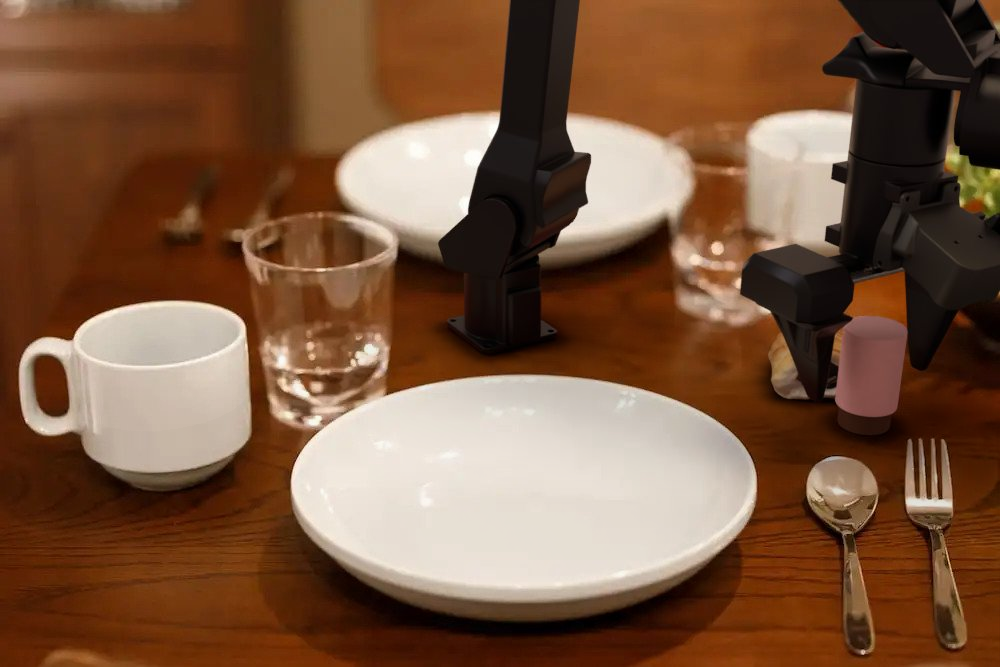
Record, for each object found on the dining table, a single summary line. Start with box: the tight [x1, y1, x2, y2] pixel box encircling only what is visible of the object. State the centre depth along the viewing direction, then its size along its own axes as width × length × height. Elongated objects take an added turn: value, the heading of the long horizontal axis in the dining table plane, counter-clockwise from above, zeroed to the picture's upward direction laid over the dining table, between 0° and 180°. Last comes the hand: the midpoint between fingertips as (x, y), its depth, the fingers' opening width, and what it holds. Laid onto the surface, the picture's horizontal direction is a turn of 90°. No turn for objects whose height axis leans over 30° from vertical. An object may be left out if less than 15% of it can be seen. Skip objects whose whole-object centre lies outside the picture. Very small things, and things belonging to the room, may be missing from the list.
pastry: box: [767, 330, 843, 401], centre depth 93 cm, size 9×7×4 cm
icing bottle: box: [834, 315, 908, 436], centre depth 86 cm, size 4×4×7 cm
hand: (867, 383), depth 86 cm, fingers open, 9 cm apart
